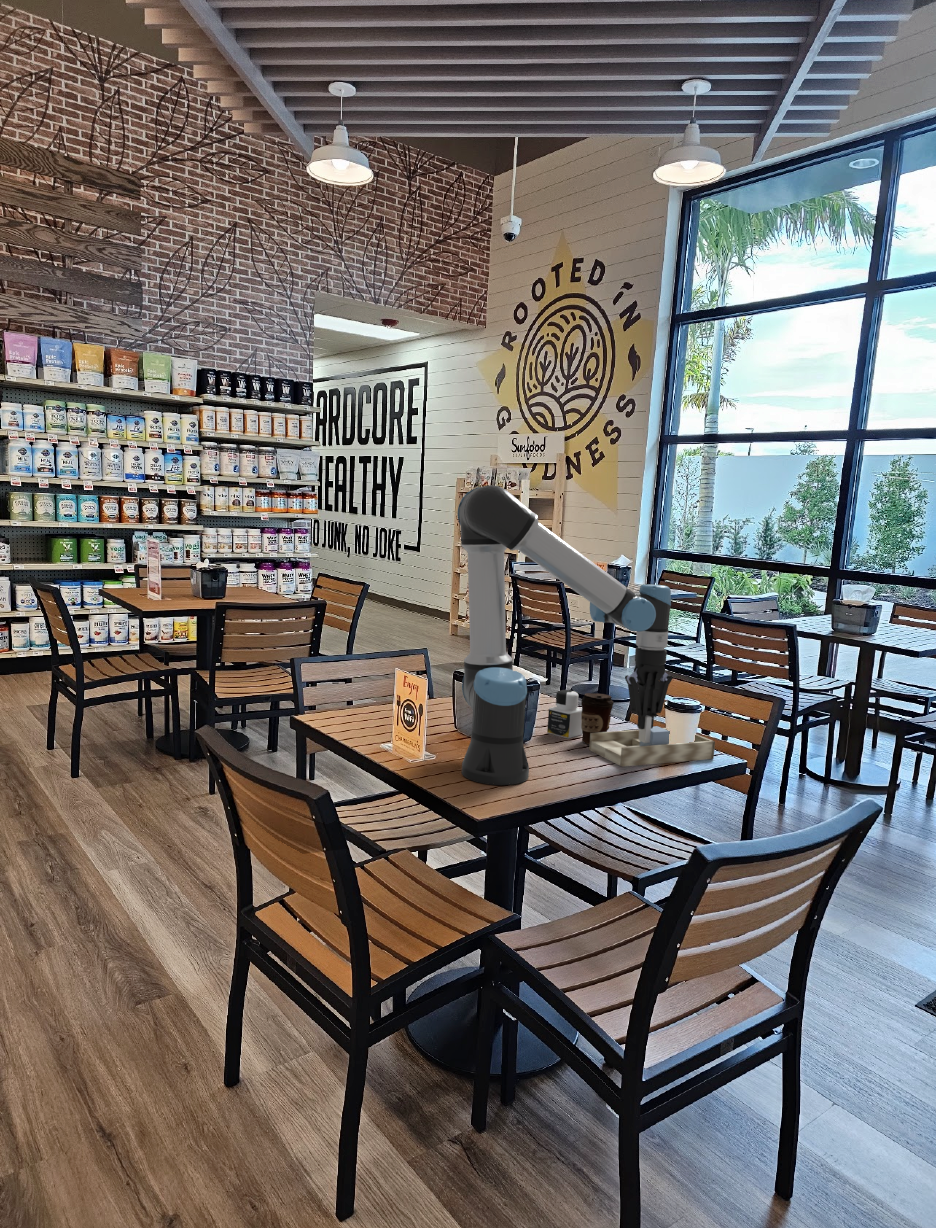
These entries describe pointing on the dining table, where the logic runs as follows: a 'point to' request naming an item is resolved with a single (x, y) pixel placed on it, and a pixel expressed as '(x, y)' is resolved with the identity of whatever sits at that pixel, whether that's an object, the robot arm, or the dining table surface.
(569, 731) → the medicine bottle
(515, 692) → the robot arm
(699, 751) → the serving tray
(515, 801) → the dining table surface
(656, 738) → the slate block
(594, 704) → the coffee cup
